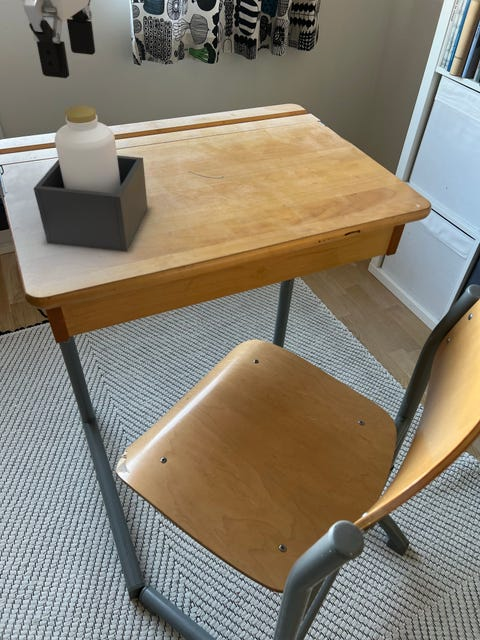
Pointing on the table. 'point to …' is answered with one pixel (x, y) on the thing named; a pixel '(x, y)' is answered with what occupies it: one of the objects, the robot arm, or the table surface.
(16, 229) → the table surface
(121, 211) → the waste bin
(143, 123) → the table surface
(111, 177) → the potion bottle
